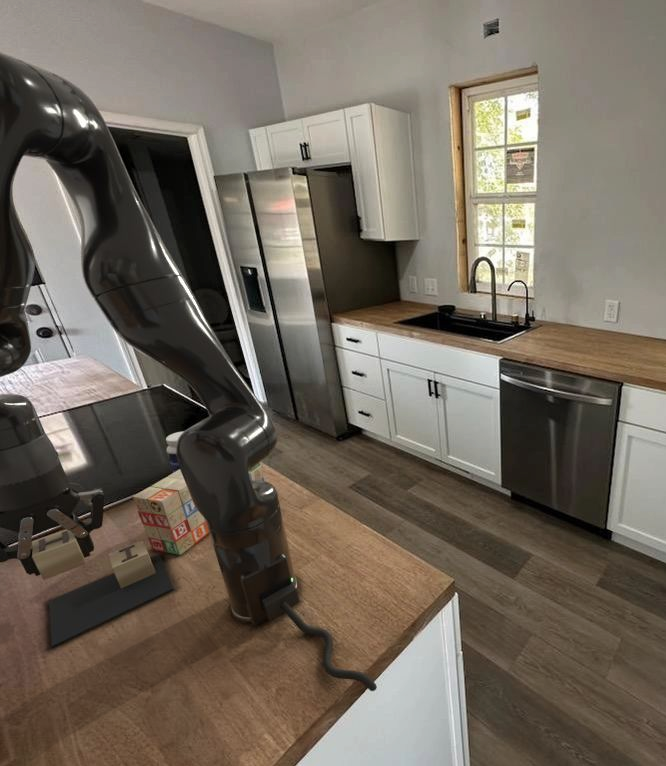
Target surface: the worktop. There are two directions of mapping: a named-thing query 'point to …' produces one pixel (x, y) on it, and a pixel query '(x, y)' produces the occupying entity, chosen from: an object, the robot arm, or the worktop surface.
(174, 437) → the pill bottle
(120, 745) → the worktop surface
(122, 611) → the word mat
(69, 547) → the tile
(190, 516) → the stack of blocks
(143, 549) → the tile
